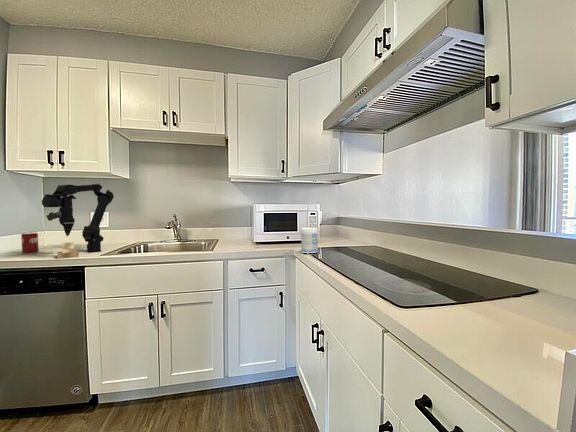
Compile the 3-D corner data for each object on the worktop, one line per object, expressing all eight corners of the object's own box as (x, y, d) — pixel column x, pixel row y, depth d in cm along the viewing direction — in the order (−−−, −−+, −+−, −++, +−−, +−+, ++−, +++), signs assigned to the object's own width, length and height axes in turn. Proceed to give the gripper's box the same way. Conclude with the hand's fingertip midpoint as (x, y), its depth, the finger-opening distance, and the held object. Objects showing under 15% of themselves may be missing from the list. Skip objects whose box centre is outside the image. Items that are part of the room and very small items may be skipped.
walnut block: (77, 255, 161) (77, 250, 161) (78, 257, 154) (78, 252, 154) (57, 257, 155) (57, 252, 155) (57, 259, 148) (57, 254, 148)
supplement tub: (315, 255, 156) (315, 229, 156) (299, 254, 159) (299, 228, 159) (319, 252, 165) (319, 227, 165) (303, 251, 168) (303, 227, 168)
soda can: (19, 254, 161) (18, 234, 161) (27, 252, 168) (26, 232, 168) (34, 253, 163) (33, 233, 163) (41, 251, 170) (40, 232, 170)
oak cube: (73, 250, 158) (73, 242, 158) (73, 252, 154) (73, 243, 154) (62, 251, 155) (62, 242, 155) (62, 253, 151) (62, 243, 151)
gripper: (46, 207, 156) (48, 234, 157) (46, 207, 142) (48, 237, 143) (71, 207, 164) (73, 233, 164) (74, 207, 149) (75, 236, 150)
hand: (67, 235), depth 155 cm, fingers open, 9 cm apart
